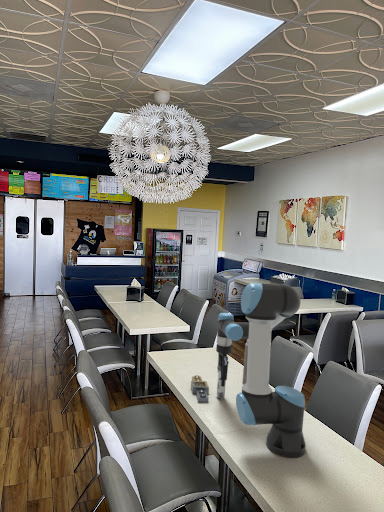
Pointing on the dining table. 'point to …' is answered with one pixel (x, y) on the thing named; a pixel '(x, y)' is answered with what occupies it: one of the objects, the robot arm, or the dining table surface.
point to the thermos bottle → (245, 363)
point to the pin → (219, 394)
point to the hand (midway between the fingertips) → (221, 390)
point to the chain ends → (200, 388)
